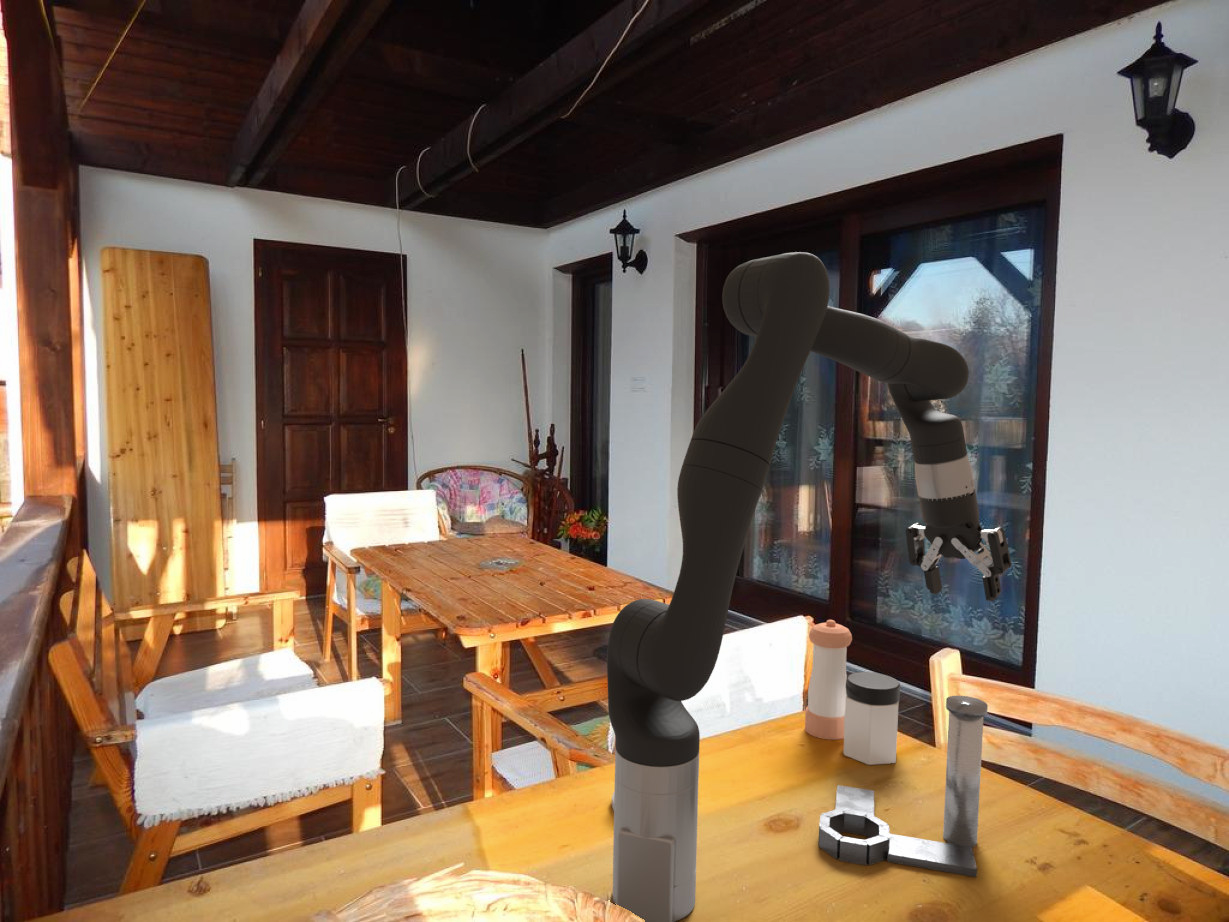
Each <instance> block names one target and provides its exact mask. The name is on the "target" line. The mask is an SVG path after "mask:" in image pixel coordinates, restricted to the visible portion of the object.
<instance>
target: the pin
mask: <svg viewBox="0 0 1229 922" xmlns="http://www.w3.org/2000/svg"><path fill="white" fill-rule="evenodd" d="M945 702H946V703H945V709H946V710H947V711H948V726H947V727H948V728H947V729H948V730H947V731H948V732H947V749H946V766H945V768H946V769H945V770H946V771H945V787H944V788H945V792H944V810H943V829H942V830H943V831H942V838H943V839H944V840H945V842H946V843H949V844H955V845H961V846H967V847H972V848H974V847H976V846H977V844H978V831H979V830H978V829H979V828H978V827H979V825H978V824H979V811H980V810H979V809H980V808H979V807H980V790H981V789H980V788H981V772H982V771H981V769H982V754H983V749H982V748H983V736H984V735H983V733H984V731H983V730H984V717H986V716H987V715H988V704H987V702H985V701H984V700H982V699H979V698H976V697H973V696H966V695H950V696H948V697H946V700H945Z"/></svg>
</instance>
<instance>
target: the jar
mask: <svg viewBox="0 0 1229 922" xmlns="http://www.w3.org/2000/svg"><path fill="white" fill-rule="evenodd" d="M846 694H847V695H846V703H845V714H844V738H843V756H845V757H848V758H850V759H853V760H855V761H857V762H861V763H863V764H865V765H867V766H872V765H874V766H875V765H889V764H890V765H891V763H892V764H896V762H897V746H898V745H897V742H898V726H899V725H898V723H899V722H898V720H899V703H900V697H901V696H900V694H901V683H900V681H899V680H897V679H896V678H894V677H893V676H890V675H888V674H882V673H878V672H871V671H869V672H868V671H866V672H865V671H861V672H854V673H851V674H848V675H847V679H846Z"/></svg>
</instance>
